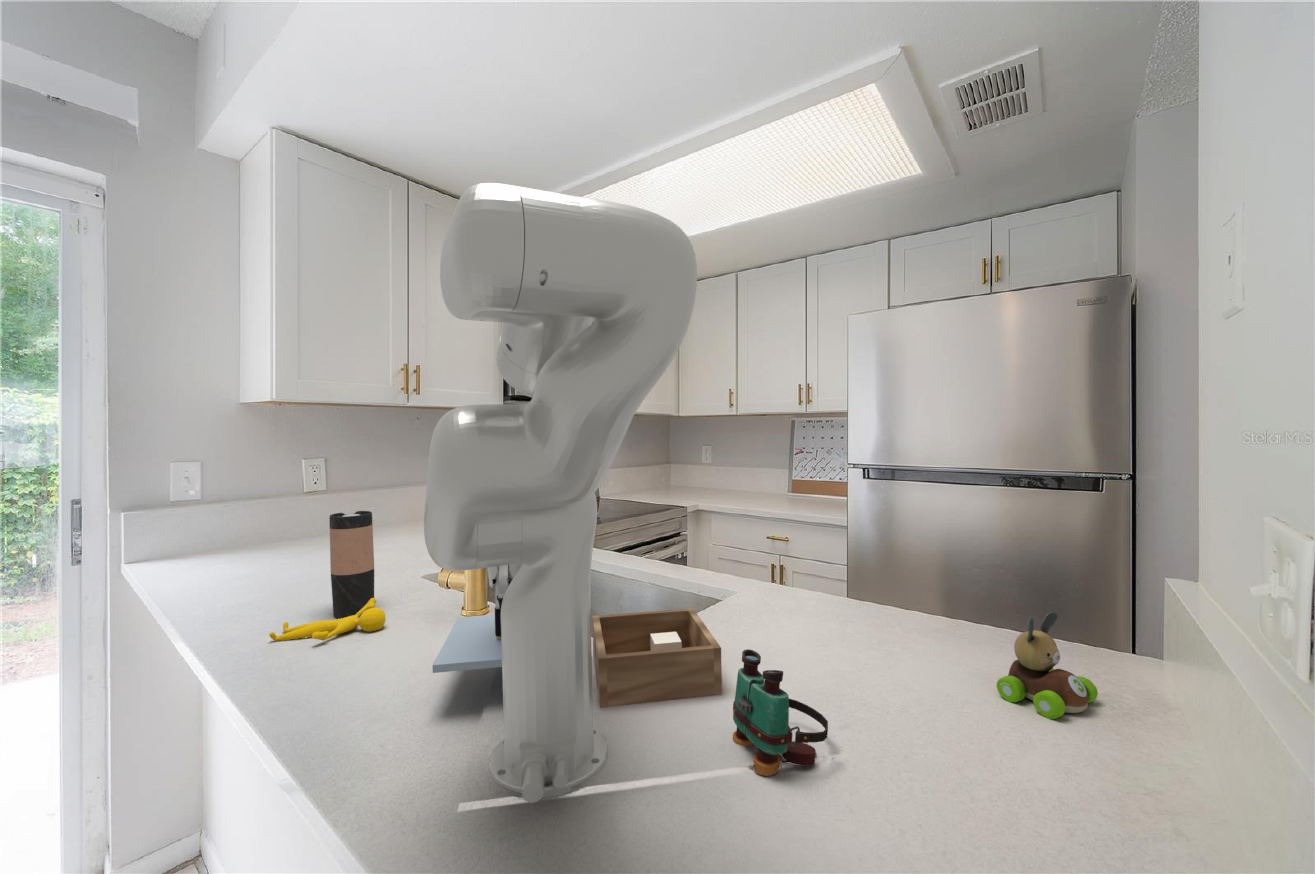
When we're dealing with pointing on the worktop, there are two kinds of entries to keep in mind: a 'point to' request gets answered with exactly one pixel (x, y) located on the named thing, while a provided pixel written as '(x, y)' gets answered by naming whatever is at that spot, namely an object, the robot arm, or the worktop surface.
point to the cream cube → (665, 641)
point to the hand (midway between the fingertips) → (508, 628)
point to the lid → (470, 645)
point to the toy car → (1044, 675)
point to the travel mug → (351, 562)
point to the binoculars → (770, 719)
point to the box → (654, 658)
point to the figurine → (336, 625)
